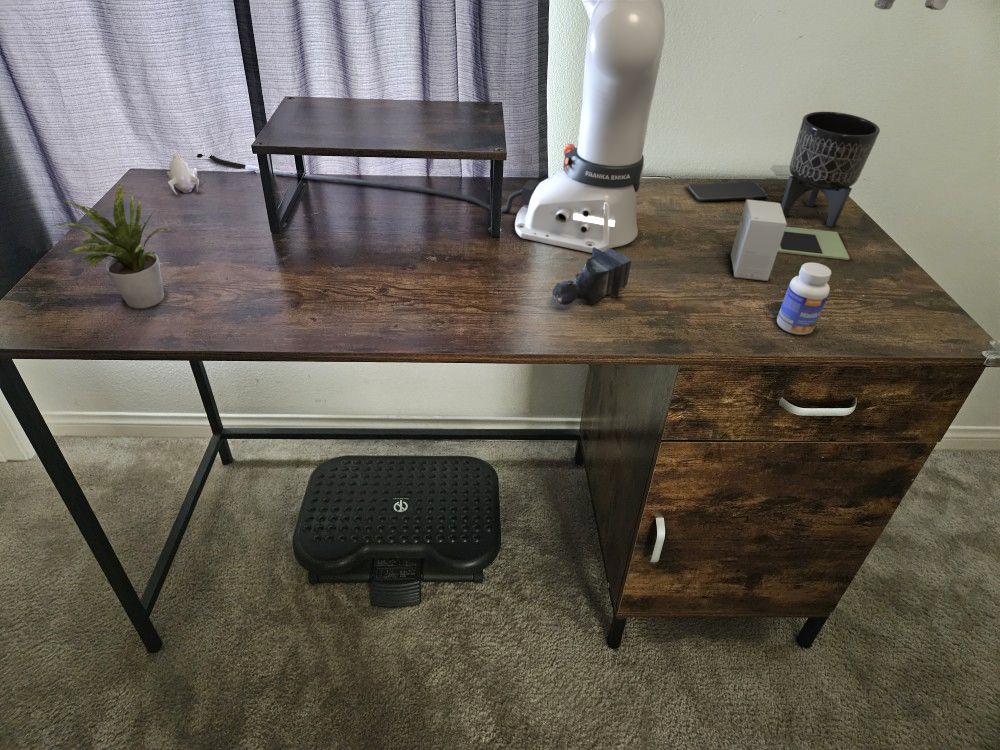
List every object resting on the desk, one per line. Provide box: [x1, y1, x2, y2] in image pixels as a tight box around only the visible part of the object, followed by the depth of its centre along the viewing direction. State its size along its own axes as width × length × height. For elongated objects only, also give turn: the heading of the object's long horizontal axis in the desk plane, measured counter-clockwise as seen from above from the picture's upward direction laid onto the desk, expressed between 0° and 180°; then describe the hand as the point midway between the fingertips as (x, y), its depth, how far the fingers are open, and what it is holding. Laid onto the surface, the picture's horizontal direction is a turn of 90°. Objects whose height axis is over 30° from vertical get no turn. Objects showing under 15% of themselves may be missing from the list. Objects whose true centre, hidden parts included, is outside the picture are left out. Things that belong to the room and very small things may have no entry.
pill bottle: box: [776, 262, 832, 336], centre depth 94 cm, size 5×5×10 cm
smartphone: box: [687, 180, 769, 203], centre depth 133 cm, size 7×1×15 cm
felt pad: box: [777, 226, 851, 261], centre depth 118 cm, size 14×10×1 cm
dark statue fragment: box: [552, 247, 632, 306], centre depth 99 cm, size 6×13×6 cm, turn 130°
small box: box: [730, 199, 788, 282], centre depth 107 cm, size 8×6×10 cm
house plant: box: [51, 183, 170, 309], centre depth 93 cm, size 14×14×16 cm
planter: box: [780, 111, 881, 228], centre depth 121 cm, size 13×13×18 cm
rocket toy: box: [166, 150, 200, 196], centre depth 124 cm, size 5×5×8 cm
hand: (906, 8), depth 85 cm, fingers open, 8 cm apart
